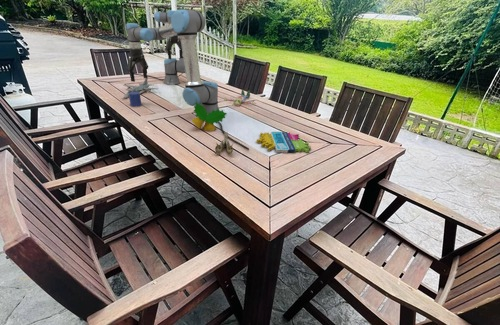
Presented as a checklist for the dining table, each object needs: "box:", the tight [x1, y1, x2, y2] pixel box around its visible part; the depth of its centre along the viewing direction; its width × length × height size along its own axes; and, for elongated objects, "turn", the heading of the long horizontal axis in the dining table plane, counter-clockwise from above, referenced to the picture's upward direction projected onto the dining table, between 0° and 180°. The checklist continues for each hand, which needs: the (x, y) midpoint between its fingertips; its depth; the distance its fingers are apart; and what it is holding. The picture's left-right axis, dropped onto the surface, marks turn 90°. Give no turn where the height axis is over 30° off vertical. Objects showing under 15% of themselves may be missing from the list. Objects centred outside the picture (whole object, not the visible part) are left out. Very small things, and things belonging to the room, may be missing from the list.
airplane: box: [121, 75, 158, 100], centre depth 222 cm, size 38×32×10 cm
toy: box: [223, 89, 257, 106], centre depth 219 cm, size 28×7×30 cm
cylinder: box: [128, 92, 142, 108], centre depth 194 cm, size 8×8×9 cm
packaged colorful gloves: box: [256, 131, 312, 154], centre depth 152 cm, size 26×2×30 cm
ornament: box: [191, 102, 228, 132], centre depth 162 cm, size 21×8×15 cm, turn 105°
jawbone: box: [214, 131, 234, 156], centre depth 136 cm, size 9×15×10 cm
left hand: (175, 58), depth 230 cm, fingers open, 13 cm apart
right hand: (139, 79), depth 191 cm, fingers open, 13 cm apart
